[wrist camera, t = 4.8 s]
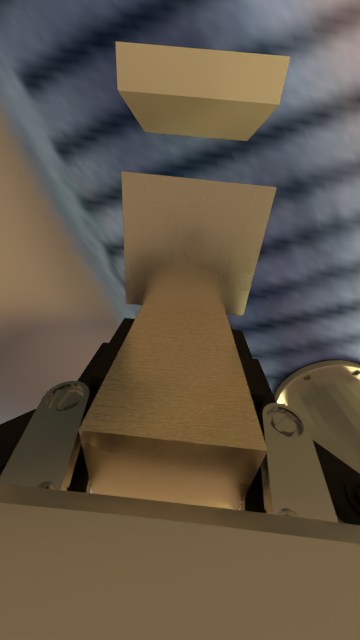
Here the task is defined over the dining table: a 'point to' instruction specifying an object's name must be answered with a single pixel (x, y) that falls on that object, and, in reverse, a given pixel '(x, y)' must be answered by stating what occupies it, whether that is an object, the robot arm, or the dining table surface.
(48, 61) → the dining table surface
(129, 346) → the beige boxy piece
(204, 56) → the block
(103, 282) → the dining table surface
